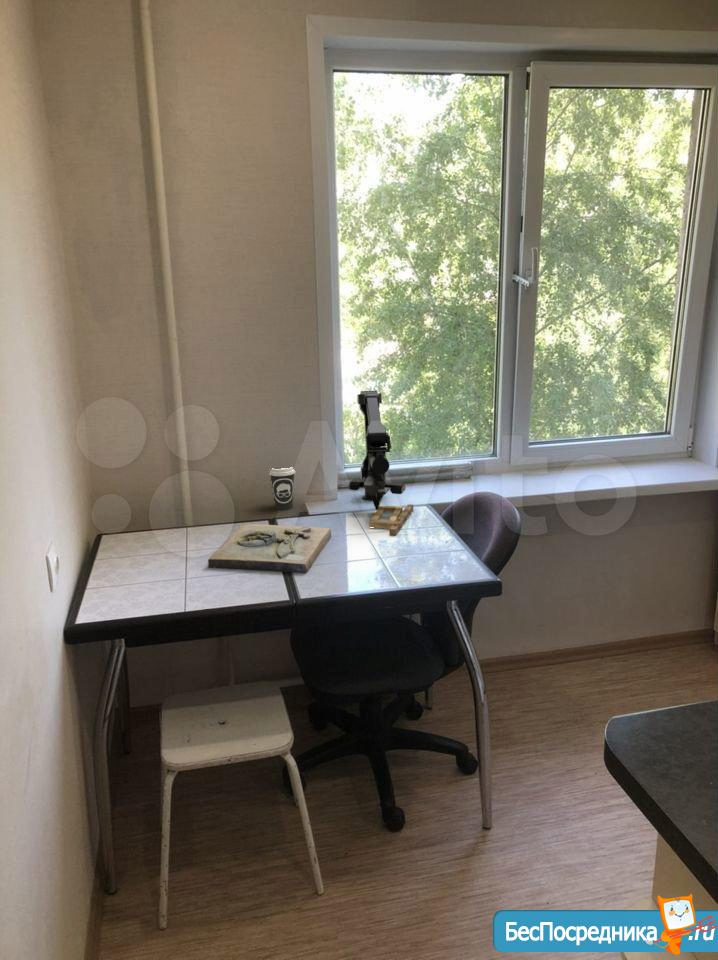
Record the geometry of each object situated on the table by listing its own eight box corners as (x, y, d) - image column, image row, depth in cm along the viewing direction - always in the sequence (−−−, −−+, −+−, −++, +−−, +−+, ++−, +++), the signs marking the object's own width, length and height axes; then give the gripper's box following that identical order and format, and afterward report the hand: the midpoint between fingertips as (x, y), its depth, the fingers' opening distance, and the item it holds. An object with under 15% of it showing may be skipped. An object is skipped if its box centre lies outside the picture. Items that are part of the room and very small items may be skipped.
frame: (380, 510, 256) (379, 505, 255) (402, 511, 254) (402, 506, 253) (369, 528, 239) (369, 522, 238) (393, 529, 237) (393, 523, 236)
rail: (407, 509, 256) (407, 502, 255) (413, 510, 255) (413, 502, 255) (389, 535, 232) (389, 526, 231) (395, 535, 232) (395, 527, 231)
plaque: (241, 513, 236) (331, 516, 230) (243, 533, 239) (332, 537, 232) (203, 548, 208) (305, 553, 202) (206, 571, 210) (306, 577, 204)
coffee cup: (302, 505, 264) (300, 465, 260) (286, 513, 256) (283, 471, 252) (281, 501, 269) (279, 462, 265) (264, 509, 261) (262, 468, 257)
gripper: (343, 470, 244) (344, 514, 249) (398, 474, 239) (397, 519, 243) (353, 461, 255) (353, 504, 259) (406, 465, 249) (405, 509, 254)
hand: (377, 509), depth 253 cm, fingers closed
